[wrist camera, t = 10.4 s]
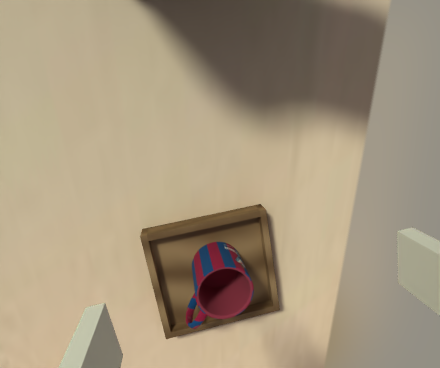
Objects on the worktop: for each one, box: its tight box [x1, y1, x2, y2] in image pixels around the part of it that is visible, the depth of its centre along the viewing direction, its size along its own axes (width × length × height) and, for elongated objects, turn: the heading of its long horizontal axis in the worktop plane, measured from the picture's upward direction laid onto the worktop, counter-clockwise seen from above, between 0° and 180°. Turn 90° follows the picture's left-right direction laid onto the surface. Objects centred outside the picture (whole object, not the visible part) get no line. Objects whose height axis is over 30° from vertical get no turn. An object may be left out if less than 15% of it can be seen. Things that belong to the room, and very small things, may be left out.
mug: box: [186, 242, 254, 329], centre depth 36 cm, size 7×10×7 cm
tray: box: [140, 204, 280, 339], centre depth 39 cm, size 15×16×2 cm
